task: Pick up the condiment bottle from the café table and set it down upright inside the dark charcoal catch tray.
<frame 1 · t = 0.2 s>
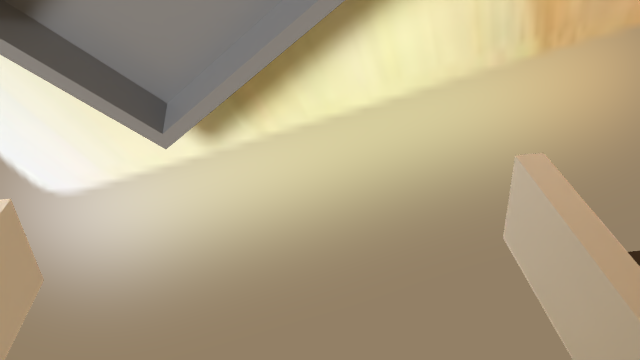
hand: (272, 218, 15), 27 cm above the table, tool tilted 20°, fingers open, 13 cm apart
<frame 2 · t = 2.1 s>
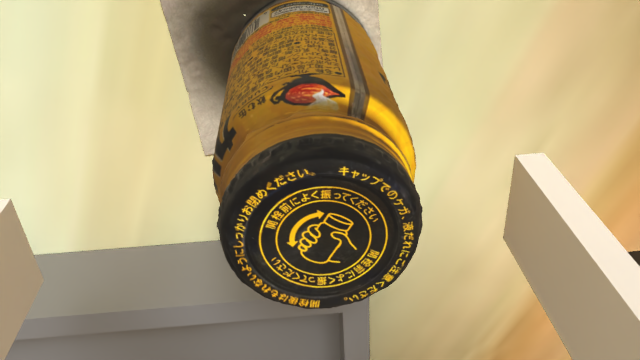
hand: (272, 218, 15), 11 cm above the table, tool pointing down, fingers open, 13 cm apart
condiment: (282, 63, 24), on the table
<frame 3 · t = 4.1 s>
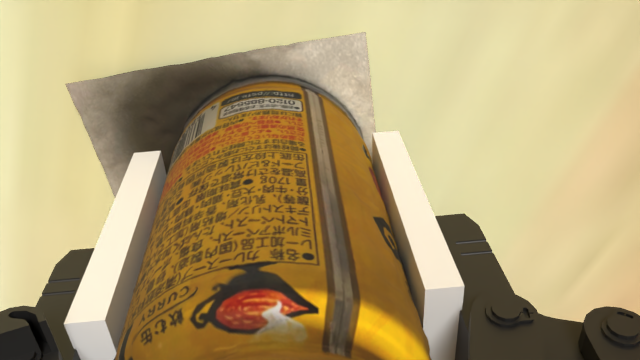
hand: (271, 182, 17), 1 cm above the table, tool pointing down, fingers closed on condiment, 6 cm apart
condiment: (244, 160, 18), on the table, touching gripper
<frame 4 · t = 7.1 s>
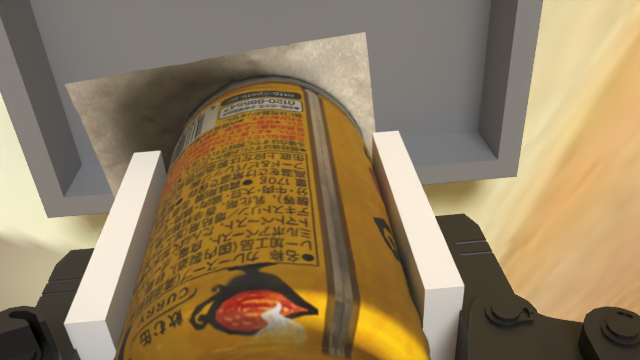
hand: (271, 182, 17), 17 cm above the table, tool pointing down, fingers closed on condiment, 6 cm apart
catch tray: (270, 20, 31), on the table
condiment: (244, 161, 18), point 15 cm above the table, touching gripper
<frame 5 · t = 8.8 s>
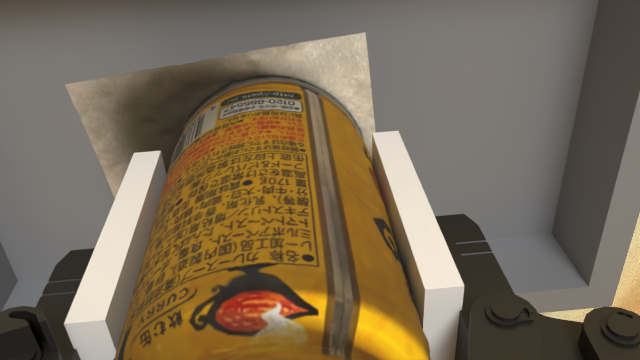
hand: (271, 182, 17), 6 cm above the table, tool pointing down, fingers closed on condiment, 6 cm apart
catch tray: (272, 94, 22), on the table
condiment: (244, 161, 18), point 5 cm above the table, touching gripper
when the fingers open (4 cm above the table, at t = 10.1 s): condiment drops 1 cm, resting on catch tray.
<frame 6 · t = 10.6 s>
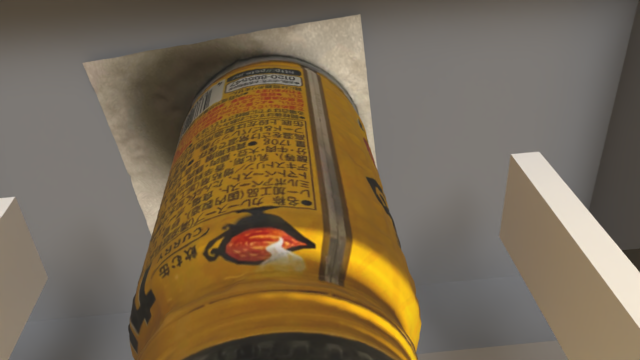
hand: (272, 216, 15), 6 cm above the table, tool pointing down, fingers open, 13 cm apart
catch tray: (271, 124, 20), on the table
condiment: (247, 137, 19), point 1 cm above the table, touching catch tray
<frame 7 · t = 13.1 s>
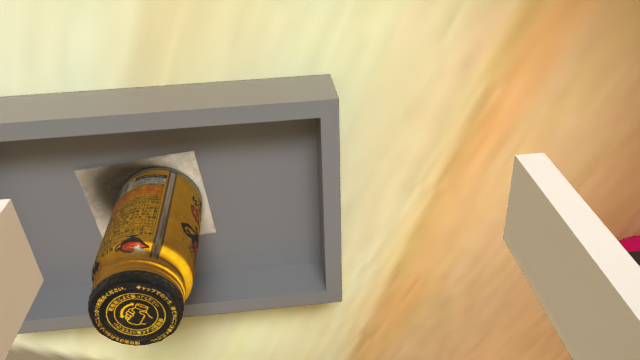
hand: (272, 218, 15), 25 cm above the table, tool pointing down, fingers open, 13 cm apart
catch tray: (161, 193, 43), on the table
condiment: (149, 199, 43), point 1 cm above the table, touching catch tray
pepper mill: (626, 261, 52), on the table
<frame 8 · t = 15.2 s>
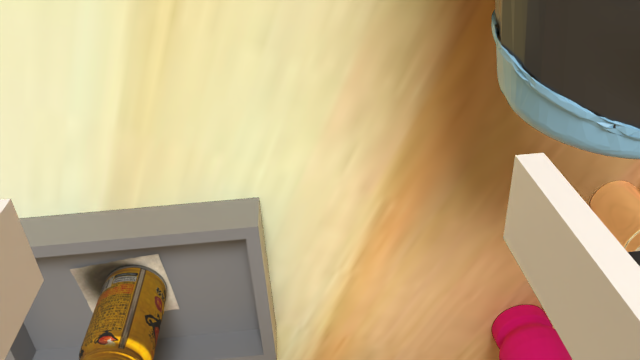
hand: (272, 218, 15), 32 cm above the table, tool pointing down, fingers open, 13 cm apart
catch tray: (137, 280, 57), on the table
condiment: (127, 286, 56), point 1 cm above the table, touching catch tray
cup with straw: (609, 199, 56), on the table
pepper mill: (518, 323, 64), on the table
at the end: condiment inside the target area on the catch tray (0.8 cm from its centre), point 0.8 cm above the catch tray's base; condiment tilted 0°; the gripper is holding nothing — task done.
